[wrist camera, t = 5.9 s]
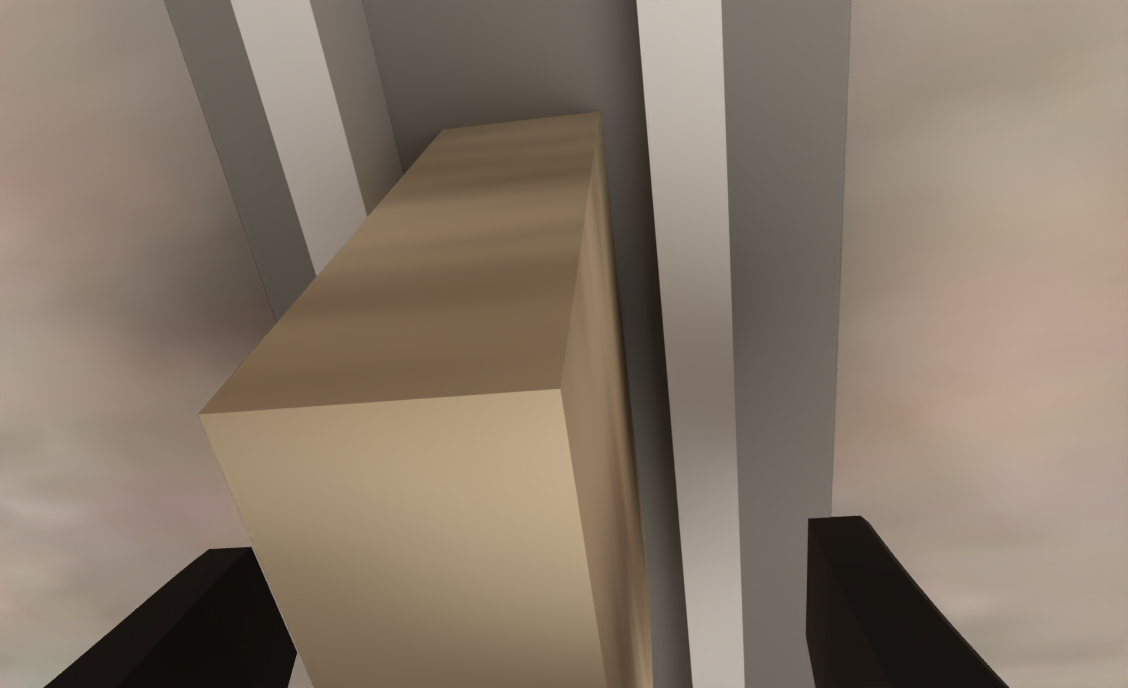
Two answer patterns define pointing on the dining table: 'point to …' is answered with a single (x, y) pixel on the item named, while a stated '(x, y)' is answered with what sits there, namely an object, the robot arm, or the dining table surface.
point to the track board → (640, 230)
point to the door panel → (454, 431)
